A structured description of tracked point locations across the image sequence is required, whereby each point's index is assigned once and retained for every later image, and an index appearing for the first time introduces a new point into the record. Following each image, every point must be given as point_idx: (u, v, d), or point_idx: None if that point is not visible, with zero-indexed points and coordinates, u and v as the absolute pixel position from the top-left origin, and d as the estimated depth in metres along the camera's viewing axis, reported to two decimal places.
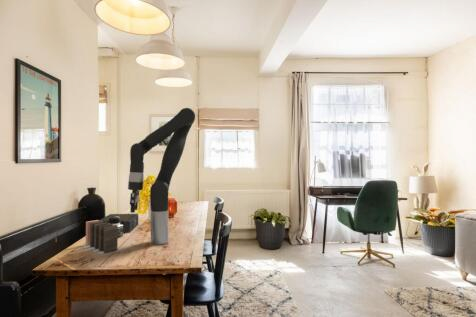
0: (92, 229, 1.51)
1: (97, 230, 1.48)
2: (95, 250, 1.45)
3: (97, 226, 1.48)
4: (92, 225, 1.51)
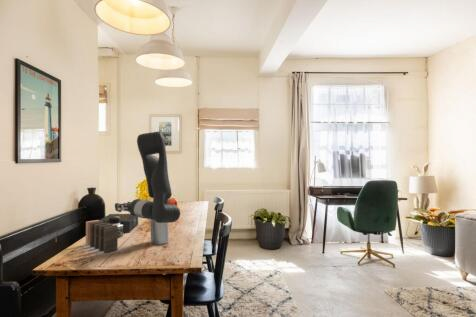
0: (92, 229, 1.51)
1: (97, 230, 1.48)
2: (95, 250, 1.45)
3: (97, 226, 1.48)
4: (92, 225, 1.51)
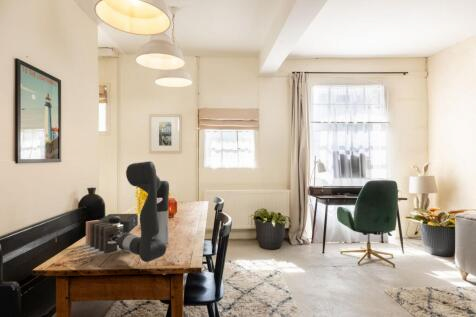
0: (92, 229, 1.51)
1: (97, 230, 1.48)
2: (95, 250, 1.45)
3: (97, 226, 1.48)
4: (92, 225, 1.51)
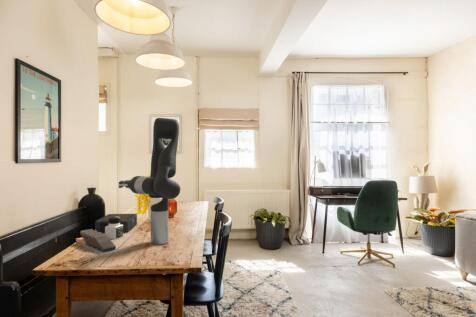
0: (83, 233, 1.57)
1: (88, 235, 1.54)
2: (95, 250, 1.45)
3: (86, 233, 1.55)
4: (82, 231, 1.58)
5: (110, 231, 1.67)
